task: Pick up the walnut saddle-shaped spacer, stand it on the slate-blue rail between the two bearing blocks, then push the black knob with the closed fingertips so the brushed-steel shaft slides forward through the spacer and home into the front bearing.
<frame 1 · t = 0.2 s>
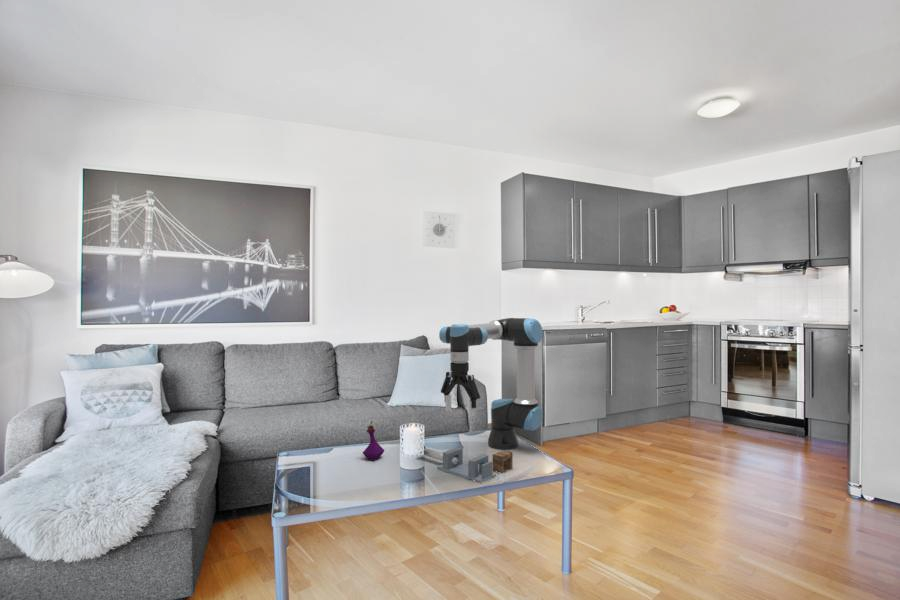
hand: (459, 413, 194), 27 cm above the table, fingers open, 13 cm apart
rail: (465, 472, 202), on the table
shaft: (437, 455, 213), point 4 cm above the table, slide at 0.0 cm
spacer: (502, 469, 205), on the table
perfume bottle: (373, 458, 220), on the table
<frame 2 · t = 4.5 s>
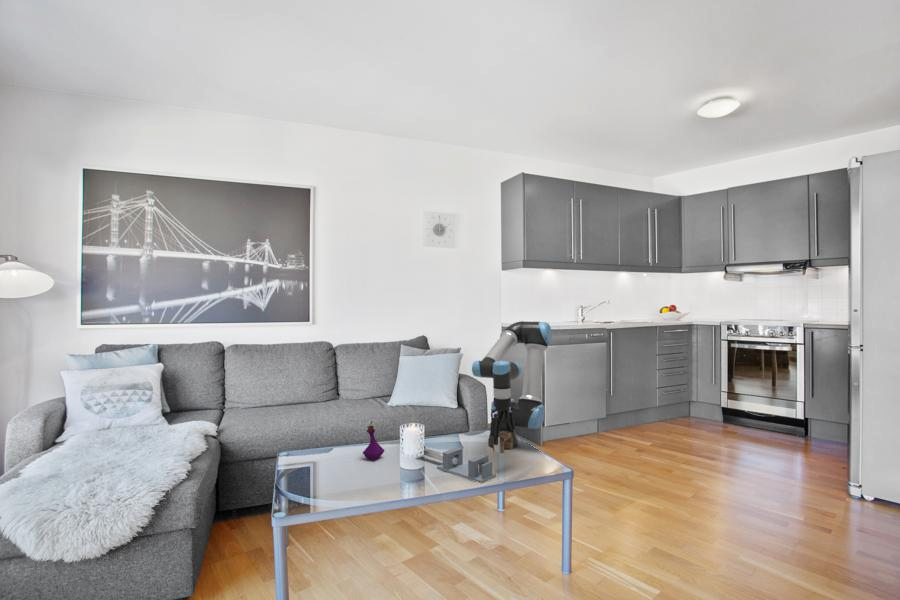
hand: (503, 448, 205), 9 cm above the table, fingers closed on spacer, 8 cm apart
spacer: (503, 449, 205), point 8 cm above the table, touching gripper
everything else where it was.
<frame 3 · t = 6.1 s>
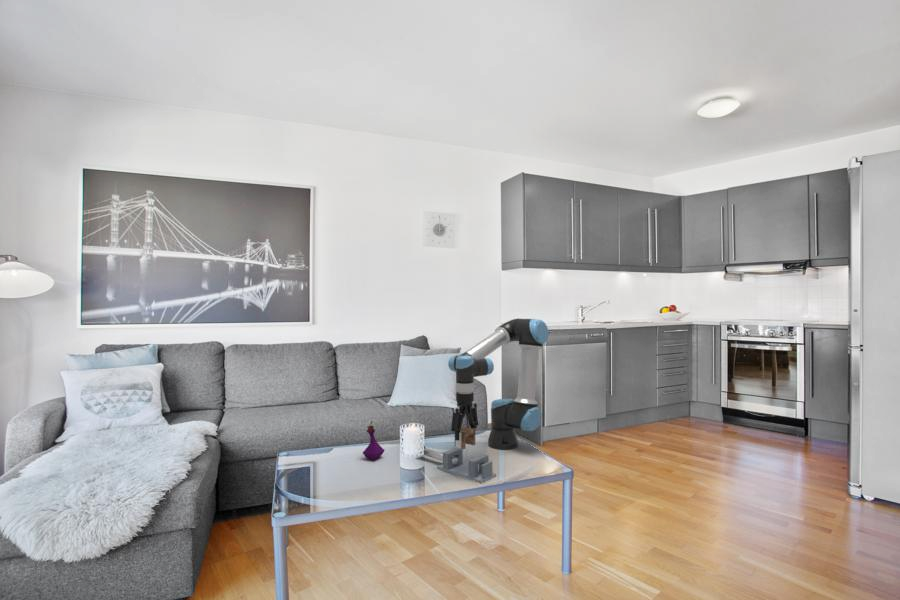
hand: (465, 445, 202), 12 cm above the table, fingers closed on spacer, 8 cm apart
spacer: (465, 445, 202), point 11 cm above the table, touching gripper
everything else where it was.
when the fingers open (2 cm above the table, at t = 7.9 s): spacer stays where it is, resting on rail.
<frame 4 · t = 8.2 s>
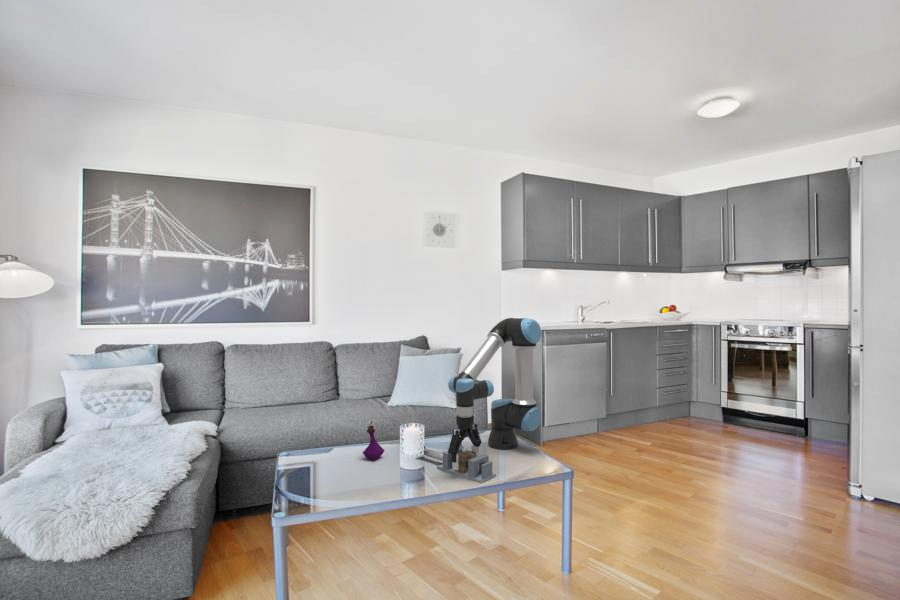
hand: (465, 465, 202), 3 cm above the table, fingers open, 12 cm apart
spacer: (465, 469, 202), point 1 cm above the table, touching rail
everything else where it was.
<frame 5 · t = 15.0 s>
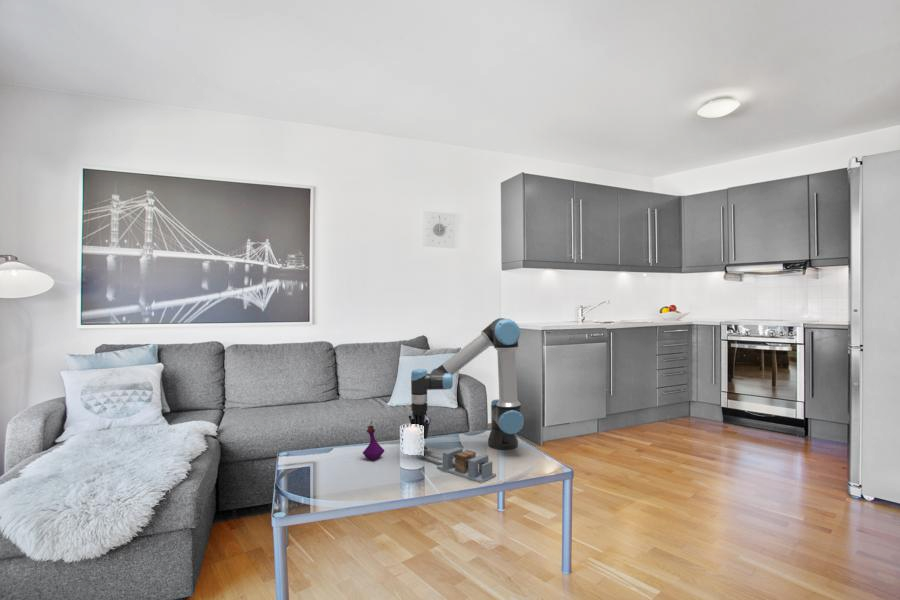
hand: (419, 452, 221), 2 cm above the table, fingers closed
shaft: (439, 456, 212), point 4 cm above the table, slide at 1.6 cm, touching gripper
everything else where it was.
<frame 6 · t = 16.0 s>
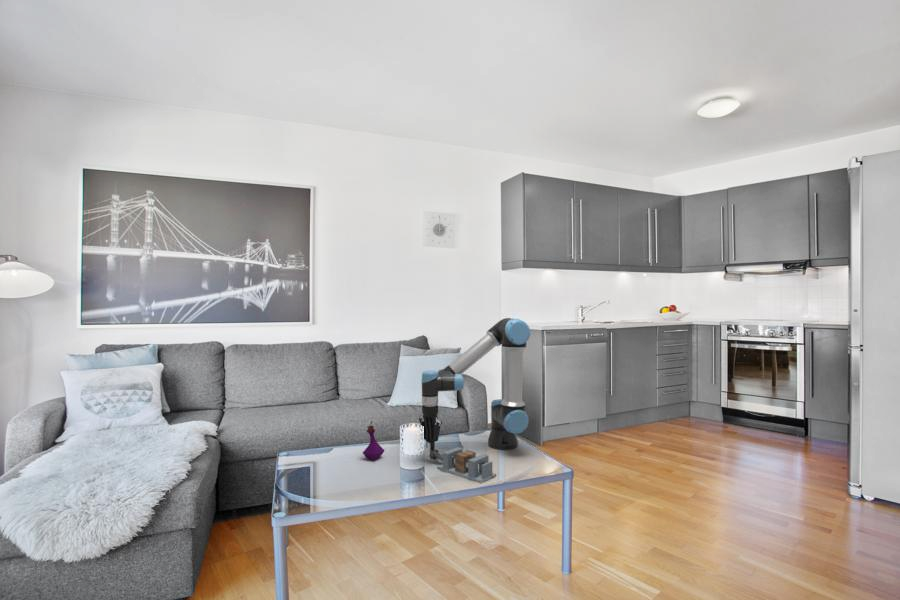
hand: (430, 455, 216), 2 cm above the table, fingers closed
shaft: (451, 459, 207), point 4 cm above the table, slide at 8.6 cm, touching gripper
everything else where it was.
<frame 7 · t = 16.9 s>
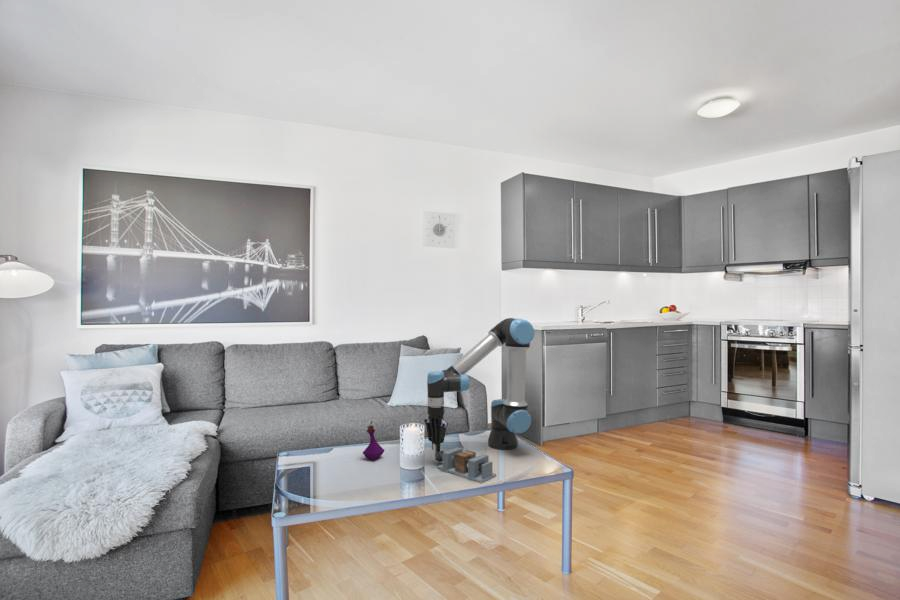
hand: (436, 457, 214), 2 cm above the table, fingers closed
shaft: (457, 461, 205), point 4 cm above the table, slide at 12.3 cm, touching gripper
everything else where it was.
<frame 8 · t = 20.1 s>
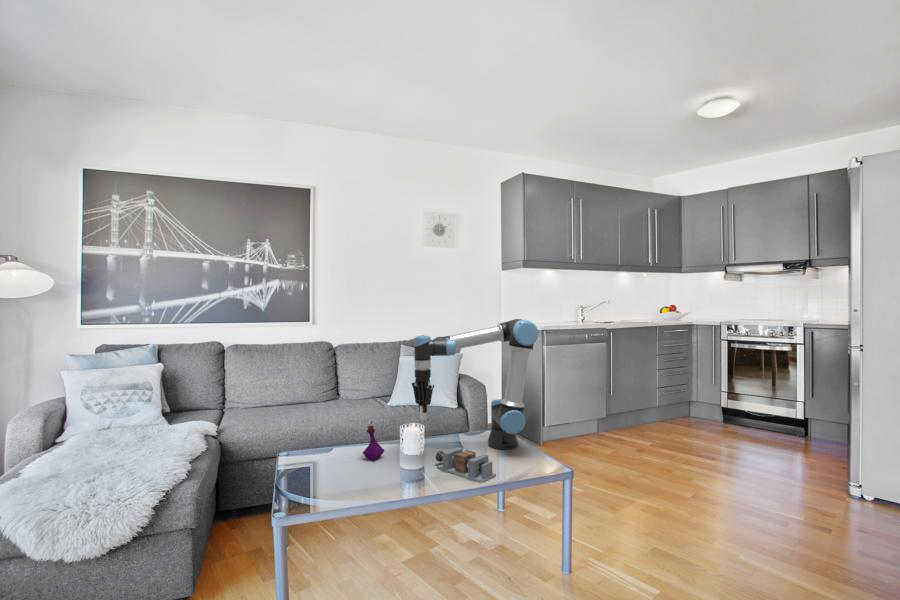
hand: (423, 419, 219), 18 cm above the table, fingers closed
shaft: (458, 461, 205), point 4 cm above the table, slide at 12.4 cm
everything else where it was.
at the end: shaft slide at 12.4 cm; spacer inside the target area on the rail (0.2 cm from its centre), point 1.0 cm above the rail's base; spacer tilted 0° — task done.
